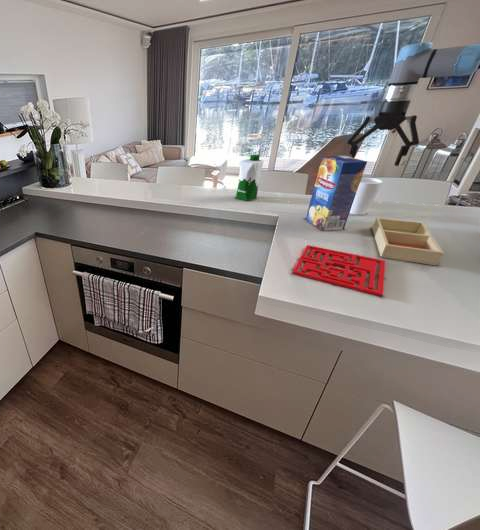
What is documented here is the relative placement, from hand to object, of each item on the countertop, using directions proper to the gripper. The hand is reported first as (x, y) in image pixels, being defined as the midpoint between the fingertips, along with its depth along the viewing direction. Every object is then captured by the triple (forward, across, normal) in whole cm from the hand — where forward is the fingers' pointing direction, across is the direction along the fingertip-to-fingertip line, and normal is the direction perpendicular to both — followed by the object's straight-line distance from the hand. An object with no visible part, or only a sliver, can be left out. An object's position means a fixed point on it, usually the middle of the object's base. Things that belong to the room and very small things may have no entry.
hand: (372, 164), depth 109 cm
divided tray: (+19, +10, -28) cm, 36 cm away
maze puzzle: (+19, -7, -53) cm, 57 cm away
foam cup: (+19, 0, 0) cm, 19 cm away
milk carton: (+20, -44, +5) cm, 48 cm away
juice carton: (+19, -11, -18) cm, 28 cm away
